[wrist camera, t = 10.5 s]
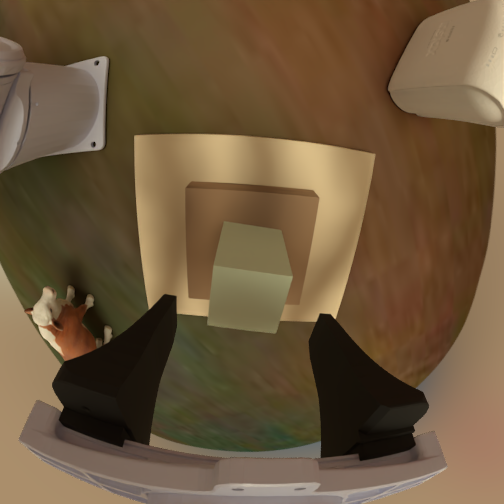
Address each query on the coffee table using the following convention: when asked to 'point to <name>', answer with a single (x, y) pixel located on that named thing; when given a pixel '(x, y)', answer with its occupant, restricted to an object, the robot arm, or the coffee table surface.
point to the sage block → (249, 278)
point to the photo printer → (455, 66)
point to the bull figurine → (66, 324)
